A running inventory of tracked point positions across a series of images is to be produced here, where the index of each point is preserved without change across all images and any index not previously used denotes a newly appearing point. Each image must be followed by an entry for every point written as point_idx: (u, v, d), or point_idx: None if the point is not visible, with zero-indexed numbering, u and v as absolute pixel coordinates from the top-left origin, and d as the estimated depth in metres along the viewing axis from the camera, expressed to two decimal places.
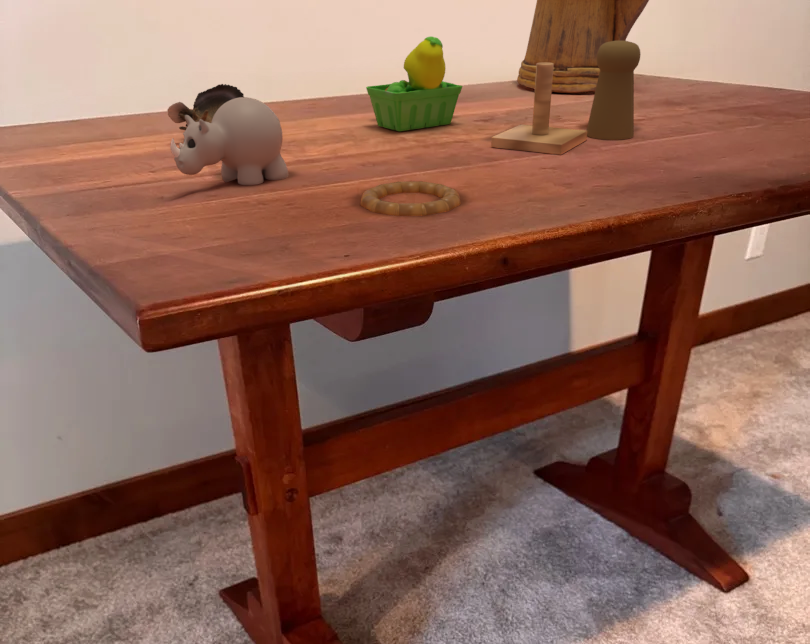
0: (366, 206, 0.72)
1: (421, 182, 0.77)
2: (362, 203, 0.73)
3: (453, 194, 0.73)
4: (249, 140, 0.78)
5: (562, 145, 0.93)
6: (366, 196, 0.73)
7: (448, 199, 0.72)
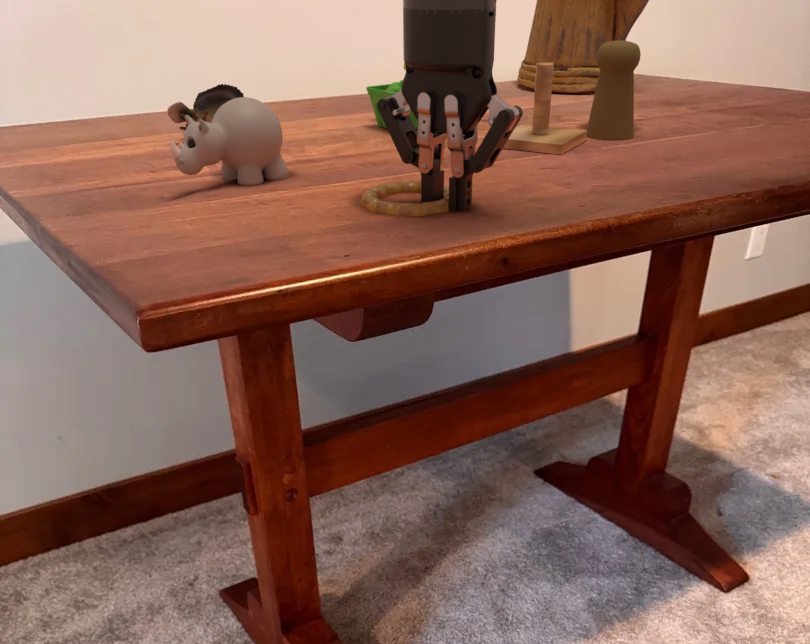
0: (366, 206, 0.72)
1: None
2: (362, 203, 0.73)
3: None
4: (249, 140, 0.78)
5: (562, 145, 0.93)
6: (366, 196, 0.73)
7: (448, 199, 0.72)
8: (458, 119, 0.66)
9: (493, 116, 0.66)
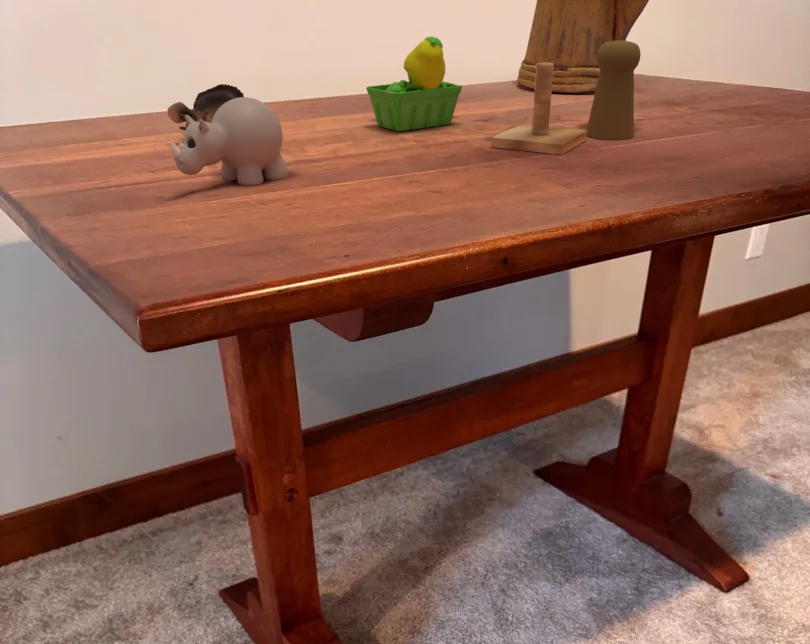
0: None
1: None
2: None
3: None
4: (249, 140, 0.78)
5: (562, 145, 0.93)
6: None
7: None
8: None
9: None
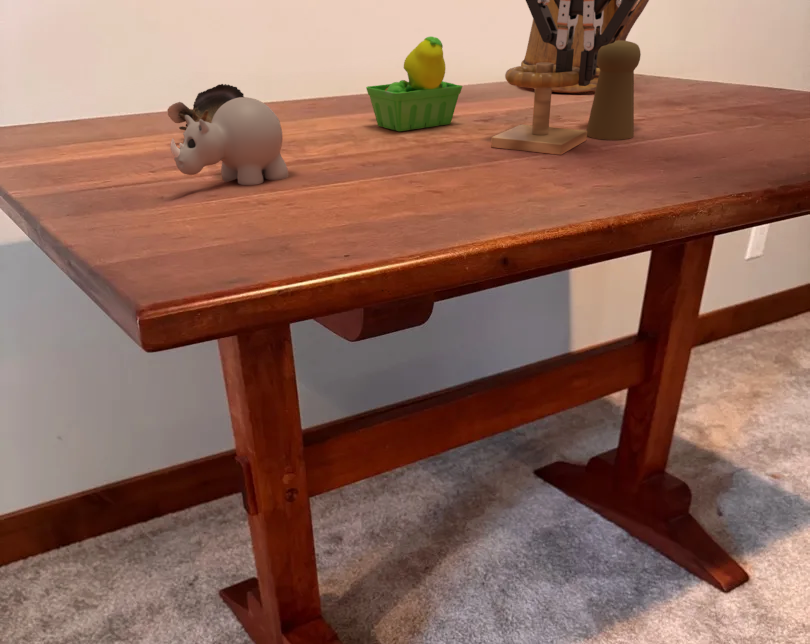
0: (513, 78, 0.92)
1: None
2: (509, 76, 0.93)
3: None
4: (249, 140, 0.78)
5: (562, 145, 0.93)
6: (512, 71, 0.93)
7: (577, 71, 0.92)
8: (593, 1, 0.87)
9: None
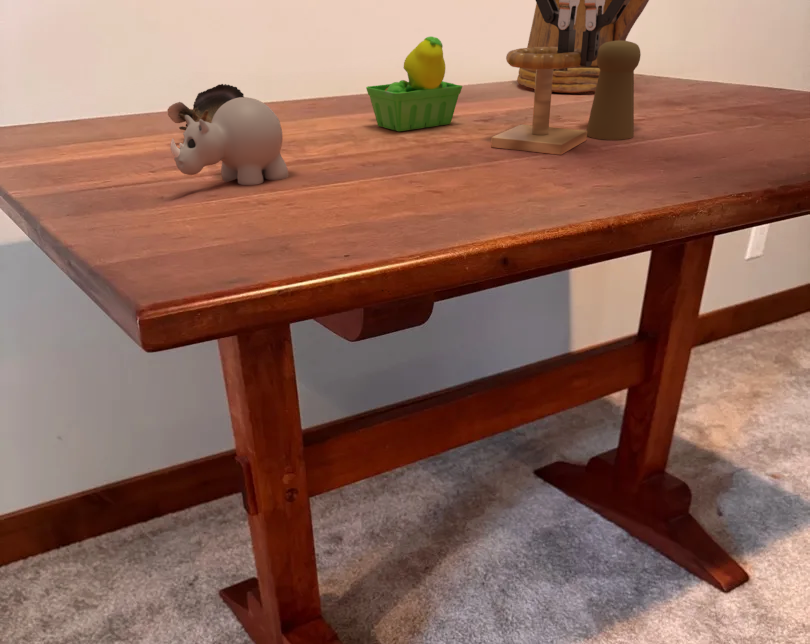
0: (514, 59, 0.91)
1: (551, 47, 0.96)
2: (510, 58, 0.92)
3: None
4: (249, 140, 0.78)
5: (562, 145, 0.93)
6: (513, 52, 0.92)
7: (579, 52, 0.91)
8: None
9: None
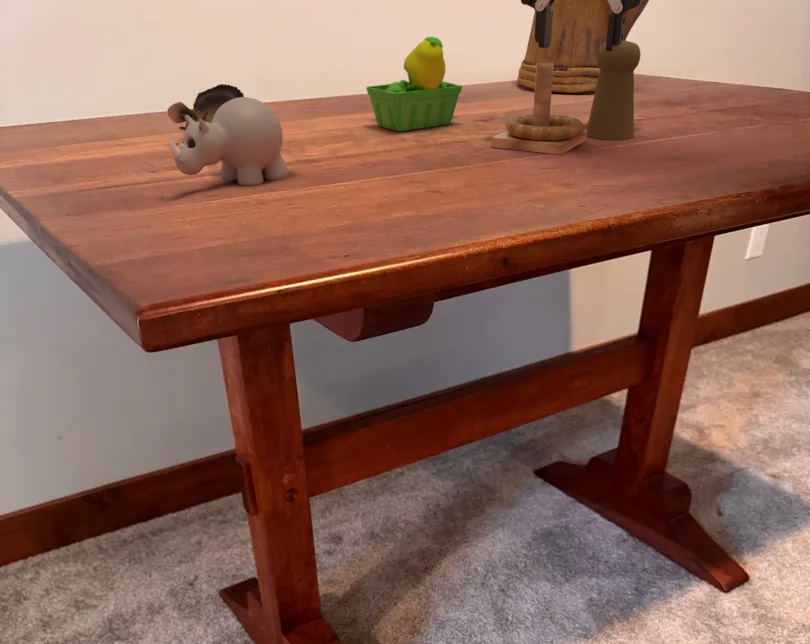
0: (514, 130, 0.95)
1: None
2: (510, 128, 0.96)
3: (579, 121, 0.96)
4: (249, 140, 0.78)
5: (562, 145, 0.93)
6: (513, 123, 0.96)
7: (577, 124, 0.95)
8: None
9: None
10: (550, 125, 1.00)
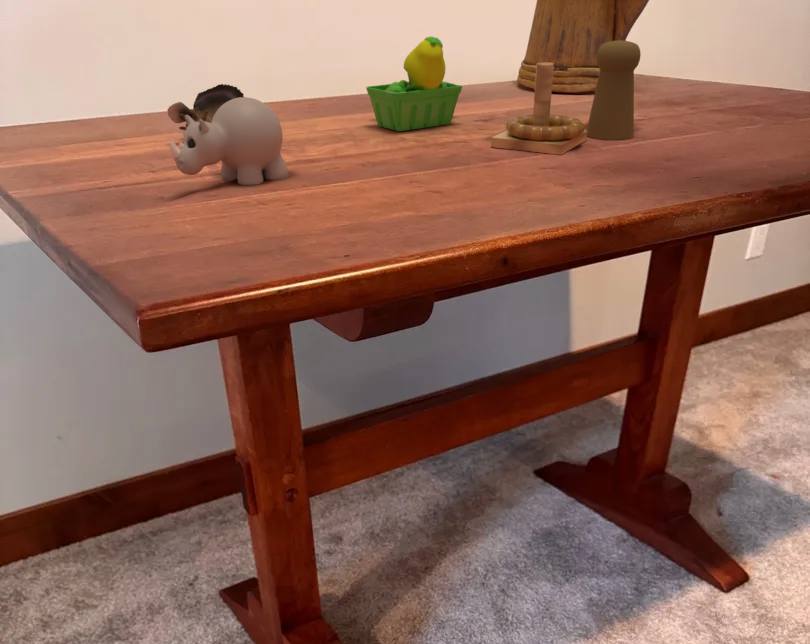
0: (514, 130, 0.95)
1: None
2: (510, 128, 0.96)
3: (579, 121, 0.96)
4: (249, 140, 0.78)
5: (562, 145, 0.93)
6: (513, 123, 0.96)
7: (577, 124, 0.95)
8: None
9: None
10: (550, 125, 1.00)
